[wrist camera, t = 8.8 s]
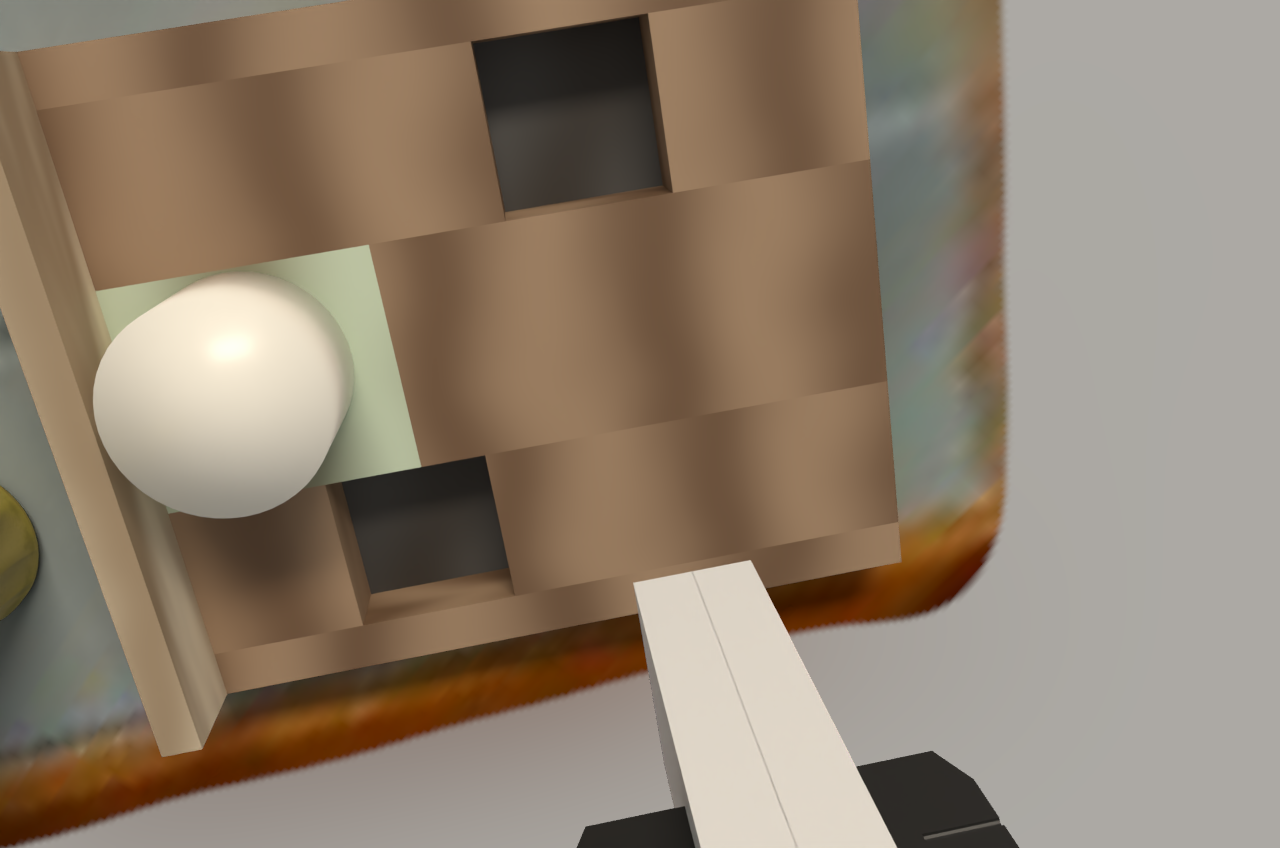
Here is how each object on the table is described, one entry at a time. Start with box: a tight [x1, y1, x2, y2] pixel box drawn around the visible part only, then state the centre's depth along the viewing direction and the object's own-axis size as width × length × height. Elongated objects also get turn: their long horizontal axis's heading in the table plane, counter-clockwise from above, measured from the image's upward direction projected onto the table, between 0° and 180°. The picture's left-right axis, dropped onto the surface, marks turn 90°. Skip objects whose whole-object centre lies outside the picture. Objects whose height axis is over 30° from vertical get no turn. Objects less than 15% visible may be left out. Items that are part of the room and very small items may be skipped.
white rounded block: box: [93, 271, 354, 518], centre depth 29 cm, size 6×6×4 cm
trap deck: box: [0, 0, 901, 757], centre depth 32 cm, size 24×20×6 cm
